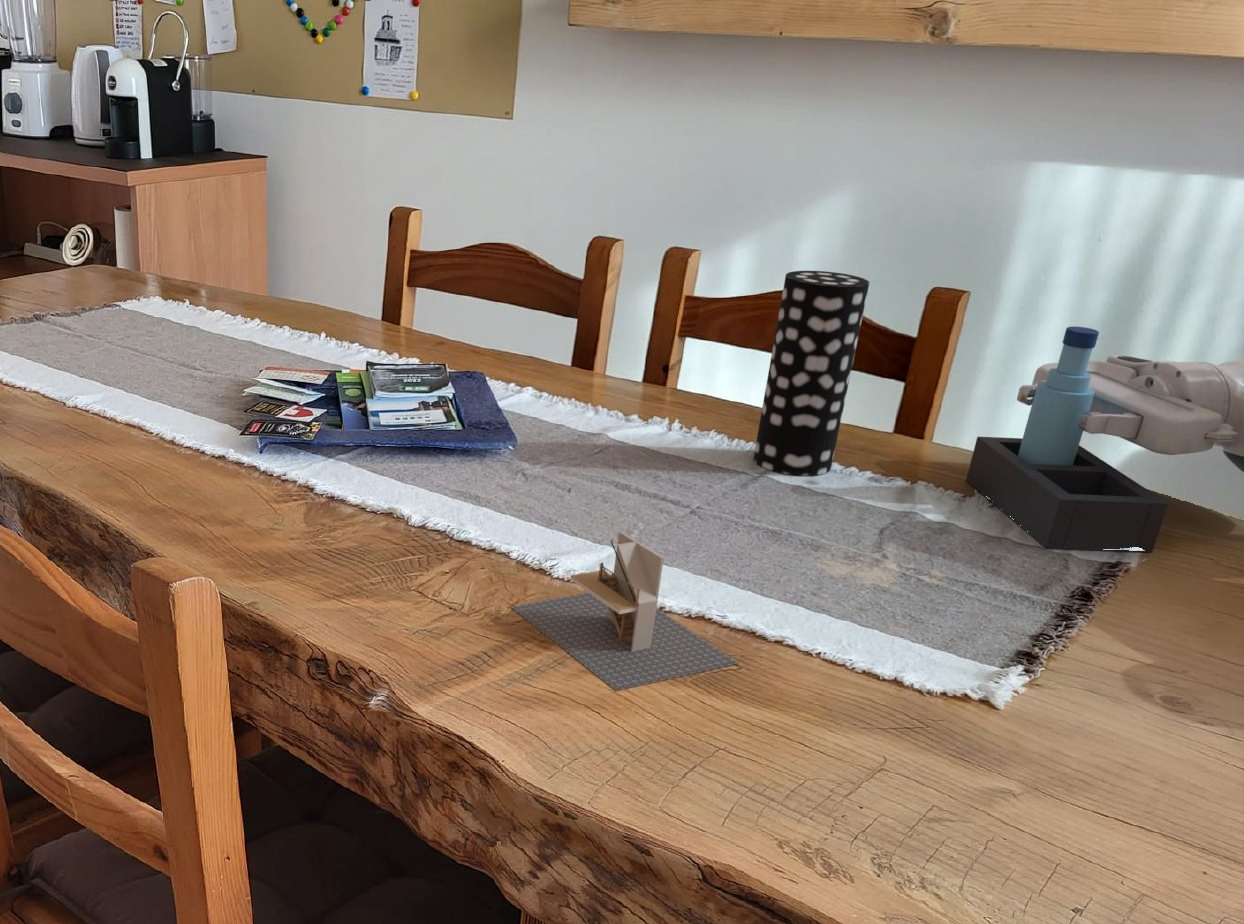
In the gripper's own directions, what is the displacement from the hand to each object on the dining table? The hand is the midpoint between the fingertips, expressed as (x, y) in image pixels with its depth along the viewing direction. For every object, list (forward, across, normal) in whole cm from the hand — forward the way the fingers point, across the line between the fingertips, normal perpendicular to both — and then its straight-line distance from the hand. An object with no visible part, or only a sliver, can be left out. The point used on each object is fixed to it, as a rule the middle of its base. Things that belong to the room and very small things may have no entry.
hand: (1052, 408), depth 126 cm
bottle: (-1, 0, -10) cm, 10 cm away
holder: (0, -4, -10) cm, 11 cm away
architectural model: (+55, -24, -10) cm, 61 cm away
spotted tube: (+20, +13, -10) cm, 26 cm away
